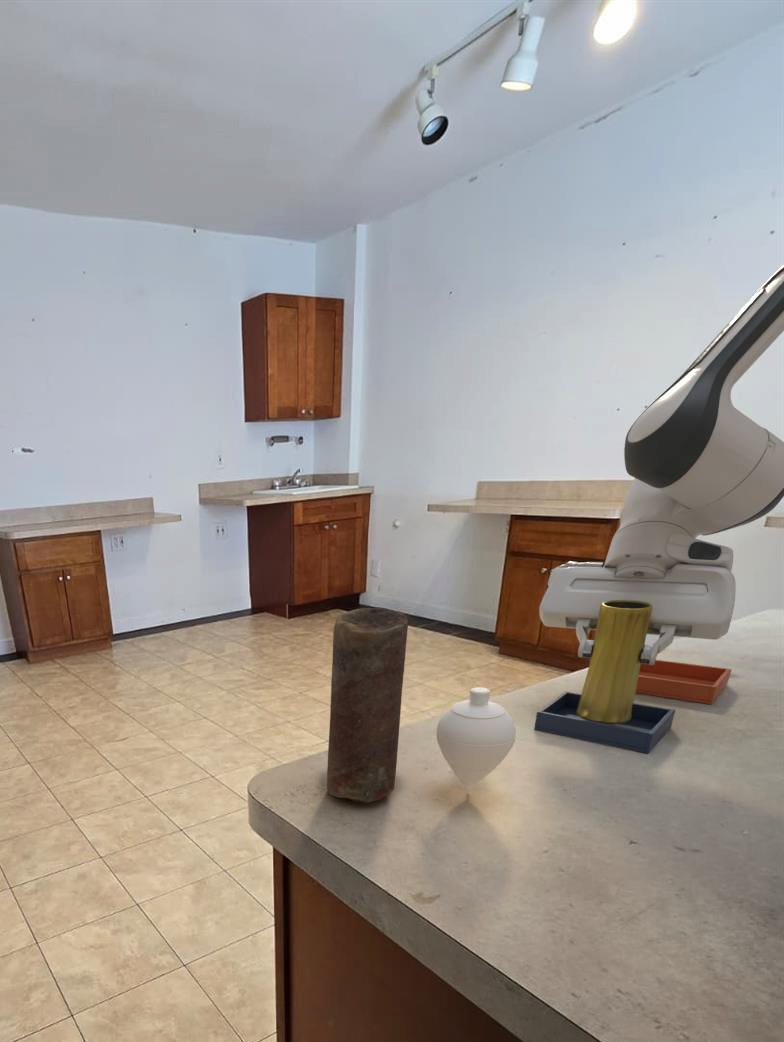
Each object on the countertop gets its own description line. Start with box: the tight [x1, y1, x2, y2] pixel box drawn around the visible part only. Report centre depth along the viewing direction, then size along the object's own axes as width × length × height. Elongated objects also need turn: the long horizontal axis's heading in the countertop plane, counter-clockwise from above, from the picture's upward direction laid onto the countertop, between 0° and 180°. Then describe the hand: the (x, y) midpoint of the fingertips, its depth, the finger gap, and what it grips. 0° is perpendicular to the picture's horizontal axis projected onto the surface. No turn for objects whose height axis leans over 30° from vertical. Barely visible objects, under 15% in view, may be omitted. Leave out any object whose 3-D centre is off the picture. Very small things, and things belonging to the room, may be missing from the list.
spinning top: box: [435, 686, 517, 795], centre depth 67 cm, size 8×8×12 cm
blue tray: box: [534, 691, 676, 754], centre depth 82 cm, size 13×10×2 cm
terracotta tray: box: [635, 659, 732, 705], centre depth 94 cm, size 13×10×2 cm
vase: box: [577, 600, 652, 724], centre depth 79 cm, size 6×6×14 cm
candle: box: [326, 607, 409, 804], centre depth 67 cm, size 8×7×20 cm
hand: (615, 658), depth 78 cm, fingers closed on vase, 5 cm apart
